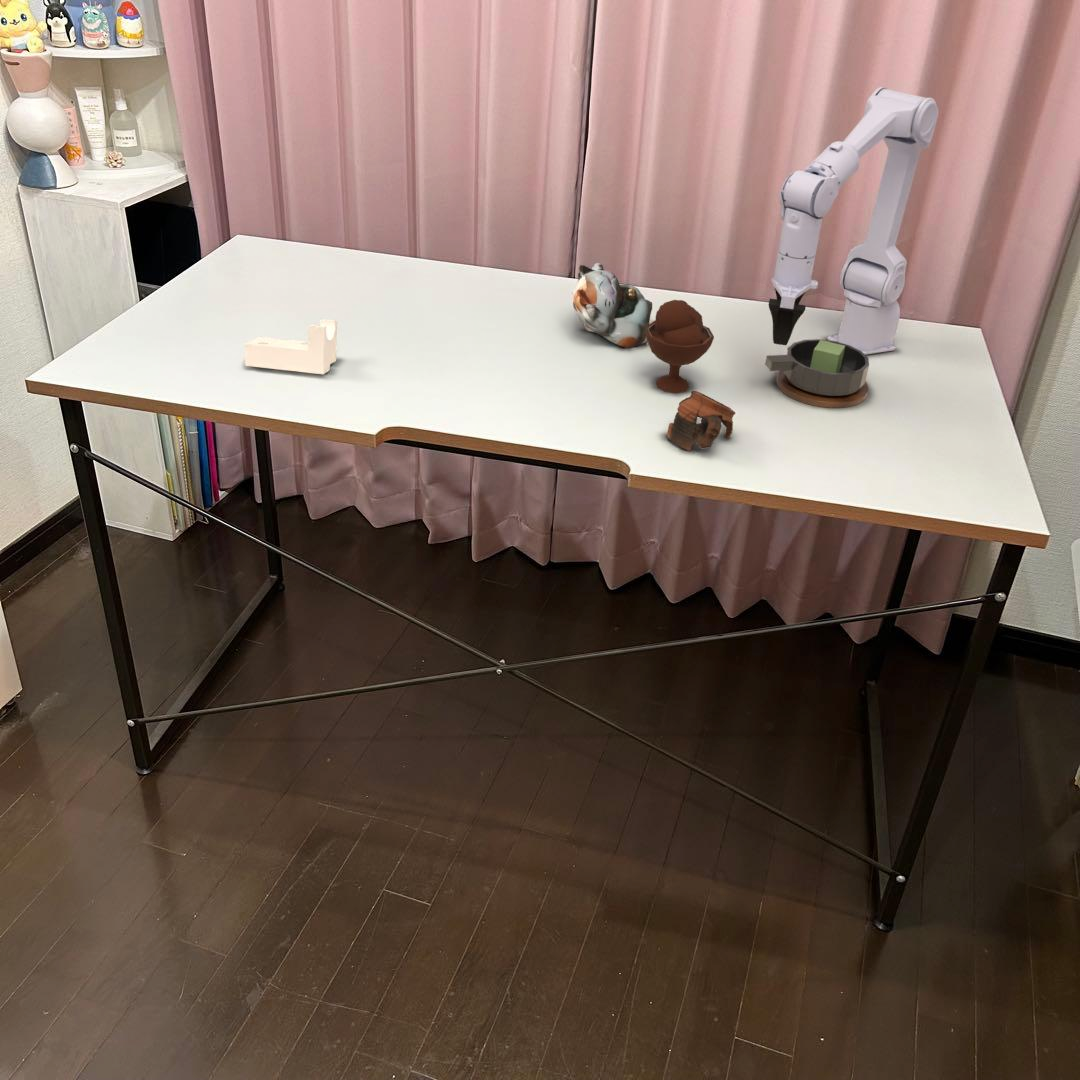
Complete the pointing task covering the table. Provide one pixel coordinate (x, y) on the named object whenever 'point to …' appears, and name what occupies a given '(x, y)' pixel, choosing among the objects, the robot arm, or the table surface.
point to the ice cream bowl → (677, 341)
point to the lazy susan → (820, 399)
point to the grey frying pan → (821, 381)
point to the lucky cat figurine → (611, 307)
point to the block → (827, 357)
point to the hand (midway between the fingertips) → (781, 334)
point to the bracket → (296, 350)
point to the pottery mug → (710, 426)
